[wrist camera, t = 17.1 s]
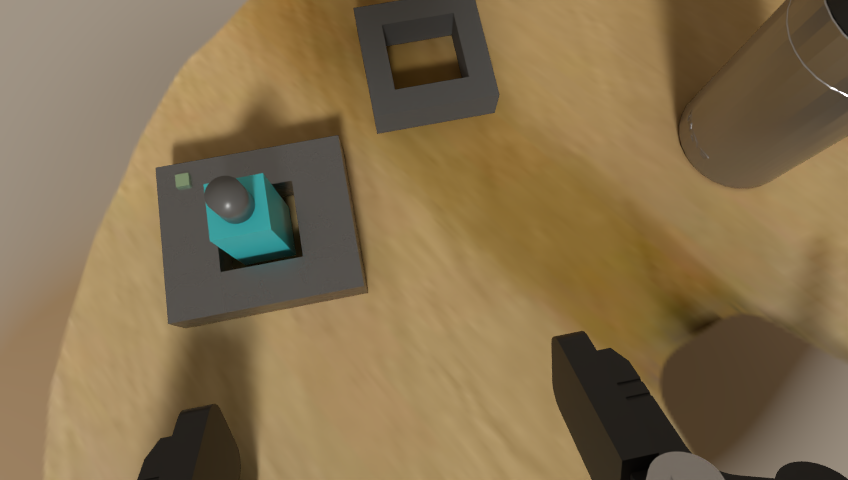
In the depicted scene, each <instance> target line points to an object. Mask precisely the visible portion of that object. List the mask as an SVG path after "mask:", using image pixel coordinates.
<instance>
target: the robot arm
mask: <svg viewBox="0 0 848 480" xmlns="http://www.w3.org/2000/svg"><path fill="white" fill-rule="evenodd" d="M679 136H680V141H681V145H682V148H683V150H684V152H685V154H686V156H687V158H688V159H689V161H690V162H691V163H692V165H693V166H694V167H695V168H696V169H697V170H698V171H699V172H700V173H701V174H703V175H704V176H706V177H707V178H709V179H710V180H712V181H714V182H716V183H719V184H721V185H724V186H728V187H733V188H753V187H758V186H761V185H763V184H766V183H768V182H770V181H772V180H773V179H775V178H777V177H779V176H780V175H782V174H784V173H785V172H787V171H789V170H791V169H792V168H794V167H796V166H797V165H799V164H801V163H803V162H804V161H806V160H808V159H810V158H811V157H813V156H815V155H816V154H818V153H820V152H821V151H823V150H825V149H827V148H828V147H830V146H832V145H833V144H835V143H837V142H838V141H840V140H842V139H844V138H845V137H847V136H848V0H785V1H784V3H783V4H782V5H781V6H780V7H779V8H778V9H777V10H776V11H775V12H774V13H773V14H772V15H771V16H770V17H769V18H768V20H767V21H766V22H765V23H764V24H763V25H762V26H761V27H760V28H759V29H758V30H757V31H756V32H755V33H754V34H753V35H752V36H751V38H750V39H749V40H748V41H747V42H746V43H745V44H744V45H743V46H742V47H741V48H740V49H739V50H738V51H737V52H736V53H735V54H734V56H733V57H732V58H731V59H730V60H729V61H728V62H727V63H726V64H725V65H724V66H723V67H722V68H721V69H720V70H719V71H718V72H717V74H716V75H715V76H714V77H713V78H712V79H711V80H710V81H709V82H708V83H707V84H706V85H705V86H704V87H703V88H702V89H701V90H700V92H699V93H698V94H697V95H696V96H695V97H694V98H693V99H692V100H691V101H690V102H689V104H688V105H687V106H686V108H685V110H684V111H683V113H682V116H681V120H680V124H679ZM552 383H553V390H554V395H555V398H556V402H557V405H558V407H559V410H560V412H561V414H562V416H563V418H564V420H565V423H566V425H567V427H568V429H569V431H570V433H571V436H572V438H573V440H574V442H575V444H576V446H577V449H578V451H579V453H580V455H581V457H582V459H583V462H584V464H585V466H586V468H587V470H588V472H589V475H590V477H591V479H592V480H848V479H847V478H846V477H844V476H843V475H841V474H840V473H838V472H836V471H834V470H832V469H830V468H828V467H826V466H823V465H820V464H816V463H811V462H802V461H801V462H793V463H789V464H787V465H785V466H783V467H782V468H780V469H779V471H778V472H777V474H776V477H775V479H773V478H762V477H751V476H739V475H732V474H728V473H724V472H721V471H718V470H717V468H715V467H714V466H713V465H712V464H711V463H709V462H708V461H706V460H705V459H703V458H701V457H699V456H696V455H694V454H692V453H691V452H690V451H689V449H688V448H687V447H686V445H685V444H684V442H683V441H682V439H681V438H680V436H679V435H678V434H677V432H676V431H675V429H674V428H673V426H672V425H671V423H670V422H669V420H668V419H667V417H666V416H665V414H664V413H663V411H662V410H661V408H660V407H659V405H658V404H657V402H656V401H655V399H654V398H653V396H651V395H650V392H649V390H648V389H647V387H646V386H645V384H644V383H643V382H641V380H640V377H639V375H638V374H637V372H636V371H635V369H634V368H633V366H632V365H631V363H630V362H629V361H628V360H627V359H625V358H624V357H622V356H621V355H620V354H618V353H617V352H615V351H614V350H613V349H611V348H608V349H603V350H598V351H597V350H596V349H595V347H594V345H593V344H592V342H591V340H590V339H589V337H588V336H587V334H586V333H585V332H584V331H580V332H575V333H570V334H565V335H560V336H555V337H553V338H552ZM240 469H241V464H240V455H239V450H238V447H237V444H236V442H235V440H234V438H233V436H232V434H231V431H230V429H229V427H228V425H227V423H226V421H225V418H224V416H223V414H222V412H221V410H220V408H219V407H218V405H216V404H212V405H207V406H202V407H197V408H192V409H187V410H183V411H181V412H180V414H179V416H178V419H177V422H176V425H175V429H174V432H173V435H172V436H170V437H165V438H160V440H159V441H158V442H157V444H156V445H155V446H154V448H153V449H152V450H151V452H150V453H149V454H148V455H147V457H146V458H145V459H144V462H143V465H142V468H141V471H140V474H139V477H138V479H137V480H239V478H240Z"/></svg>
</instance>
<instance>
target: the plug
mask: <svg viewBox="0 0 848 480" xmlns="http://www.w3.org/2000/svg"><path fill="white" fill-rule="evenodd" d="M203 185H204V199H205V203H206V212H207V220H208V229H209V238H210V242H212V243H213V244H215V245H216V246H218V247H219V248H221V249H222V250H224V251H225V252H227V253H228V254H230V255H231V256H232V257H234V258H235V259H237V260H238V261H240V262H241V263H243V264H244V265H249V264H254V263H259V262H264V261H270V260H275V259H280V258H285V257H290V256H295V255H296V250H295V244H294V237H293V231H292V224H291V218H290V211H289V207H288V206H287V204H286V203H285V202H284V200H283V199H282V198H281V196H280V195H279V194H278V192H277V191H276V190H275V188H274V187H273V186H272V184H271V183H270V182H269V180H268V179H267V178H266V176H265V175H264V174H263V173H261V174H255V175H250V176H245V177H239V178H234V177H231V176H220V177H217V178H215V179H213V180H212V181H211V182H210V183H208V184H203Z"/></svg>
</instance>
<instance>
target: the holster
mask: <svg viewBox="0 0 848 480" xmlns="http://www.w3.org/2000/svg"><path fill="white" fill-rule="evenodd" d="M354 14H355V19H356V25H357V30H358V35H359V41H360V46H361V51H362V56H363V62H364V67H365V72H366V77H367V82H368V88H369V93H370V98H371V103H372V109H373V114H374V119H375V124H376V129H377V134H378V133H384V132H389V131H395V130H401V129H406V128H412V127H417V126H423V125H429V124H434V123H440V122H445V121H451V120H456V119H462V118H468V117H473V116H479V115H484V114H490V113H495V109H496V105H497V102H498V98H499V91H498V87H497V83H496V79H495V76H494V72H493V68H492V64H491V60H490V56H489V52H488V48H487V44H486V41H485V37H484V33H483V29H482V25H481V21H480V17H479V13H478V9H477V6H476V2H475V0H399V1H393V2H387V3H381V4H375V5H369V6H363V7H357V8H354ZM449 35H452V38H453V43H454V47H455V51H456V55H457V59H458V63H459V68H460V72H461V76H462V78H459V79H453V80H447V81H442V82H436V83H430V84H425V85H419V86H413V87H408V88H402V89H396V90H395V88H394V83H393V78H392V73H391V68H390V63H389V58H388V53H387V49H386V46H390V45H396V44H402V43H408V42H414V41H419V40H425V39H431V38H437V37H443V36H449Z"/></svg>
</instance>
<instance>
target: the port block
mask: <svg viewBox="0 0 848 480" xmlns="http://www.w3.org/2000/svg"><path fill="white" fill-rule="evenodd" d="M261 173H263V174H264V175H265V176H266V178H267V179H268V180H269V182H270V183H271V184H272V186H273V187H274V188H275V190H276V191H277V192H278V194H279V195H280V196H281V197H285V196H291V195H294V198H295V205H296V212H297V219H298V225H299V232H300V239H301V246H302V253H303V257H298V258H293V259H287V260H282V261H277V262H272V263H266V264H261V265H256V266H250V267H245V268H240V269H235V270H233V265H232V256H231V255H230V254H228V253H227V252H225V251H224V250H222V249H221V248H219V247H218V246H216V245H215V244H213V243H212V242H210V238H209V229H208V220H207V212H206V203H205V199H204V185H203V184H208V183H210V182H211V181H212V180H213V179H215V178H217V177H220V176H231V177H234V178H239V177H245V176H250V175H255V174H261ZM156 179H157V191H158V204H159V216H160V228H161V241H162V253H163V266H164V278H165V290H166V303H167V315H168V324H171V325H175V326H179V327H183V328H189V327H194V326H199V325H205V324H210V323H215V322H220V321H225V320H230V319H236V318H241V317H246V316H251V315H256V314H261V313H266V312H272V311H277V310H282V309H287V308H292V307H297V306H303V305H308V304H313V303H318V302H323V301H328V300H333V299H339V298H344V297H349V296H354V295H359V294H364V293H368V289H367V284H366V278H365V272H364V266H363V260H362V255H361V249H360V243H359V237H358V232H357V226H356V220H355V214H354V209H353V203H352V197H351V191H350V186H349V180H348V174H347V168H346V162H345V157H344V151H343V148H342V145H341V142H340V139H339V136H338V135H336V136H331V137H325V138H320V139H314V140H308V141H303V142H297V143H292V144H286V145H280V146H275V147H269V148H264V149H258V150H253V151H247V152H241V153H236V154H230V155H225V156H219V157H213V158H208V159H202V160H197V161H191V162H185V163H180V164H174V165H169V166H163V167H157V168H156Z"/></svg>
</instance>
